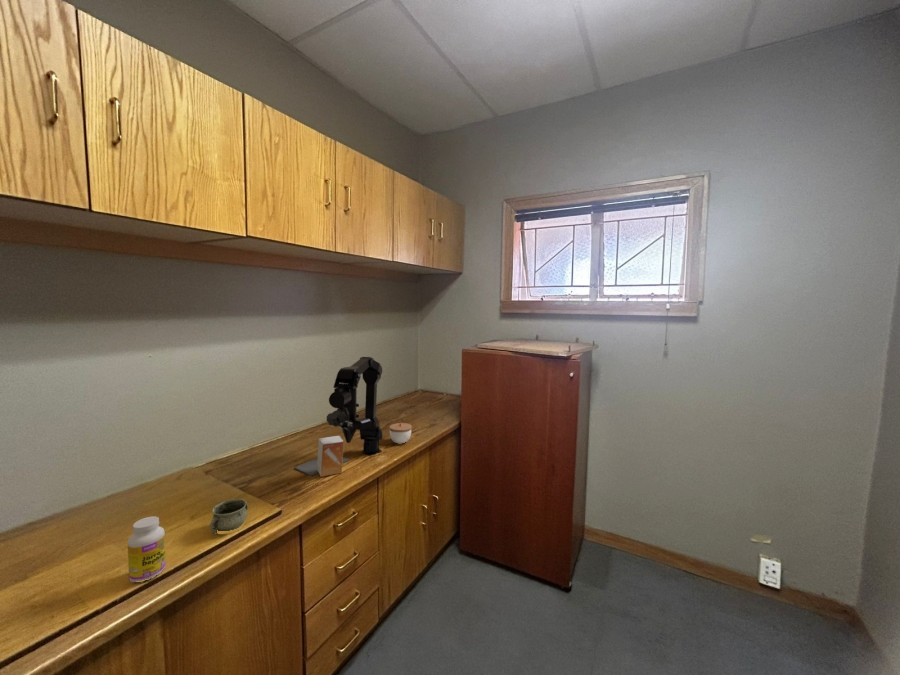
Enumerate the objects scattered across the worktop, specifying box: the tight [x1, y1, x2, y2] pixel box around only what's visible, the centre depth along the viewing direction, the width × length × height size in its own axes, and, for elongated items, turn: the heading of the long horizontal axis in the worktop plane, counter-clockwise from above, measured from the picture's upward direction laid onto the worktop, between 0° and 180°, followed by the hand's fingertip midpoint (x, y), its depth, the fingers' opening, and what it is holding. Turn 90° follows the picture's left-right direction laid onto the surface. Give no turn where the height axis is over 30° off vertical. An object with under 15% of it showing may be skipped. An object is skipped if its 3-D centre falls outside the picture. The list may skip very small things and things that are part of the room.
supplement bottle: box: [127, 516, 166, 583], centre depth 84 cm, size 7×7×13 cm
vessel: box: [209, 498, 249, 535], centre depth 103 cm, size 12×9×6 cm
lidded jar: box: [389, 422, 413, 445], centre depth 172 cm, size 11×11×9 cm
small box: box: [317, 435, 345, 477], centre depth 138 cm, size 8×6×13 cm
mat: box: [294, 456, 350, 477], centre depth 146 cm, size 18×11×1 cm, turn 146°
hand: (348, 442), depth 134 cm, fingers closed
